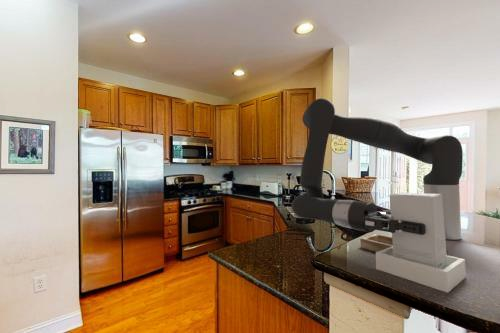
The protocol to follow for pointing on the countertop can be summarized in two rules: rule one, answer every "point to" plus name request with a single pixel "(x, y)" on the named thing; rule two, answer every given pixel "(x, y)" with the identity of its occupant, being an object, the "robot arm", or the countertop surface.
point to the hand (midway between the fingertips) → (430, 227)
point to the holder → (376, 242)
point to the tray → (423, 270)
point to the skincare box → (431, 214)
